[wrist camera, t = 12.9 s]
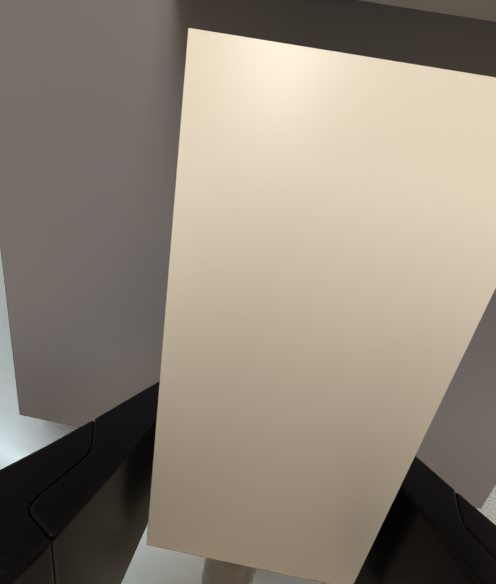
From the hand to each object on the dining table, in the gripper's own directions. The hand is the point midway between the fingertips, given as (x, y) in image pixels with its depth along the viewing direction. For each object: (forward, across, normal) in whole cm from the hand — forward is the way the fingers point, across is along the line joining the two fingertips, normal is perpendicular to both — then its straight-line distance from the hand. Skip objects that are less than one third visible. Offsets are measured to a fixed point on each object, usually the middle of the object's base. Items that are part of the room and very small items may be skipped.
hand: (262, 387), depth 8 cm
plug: (0, 0, 0) cm, 0 cm away
